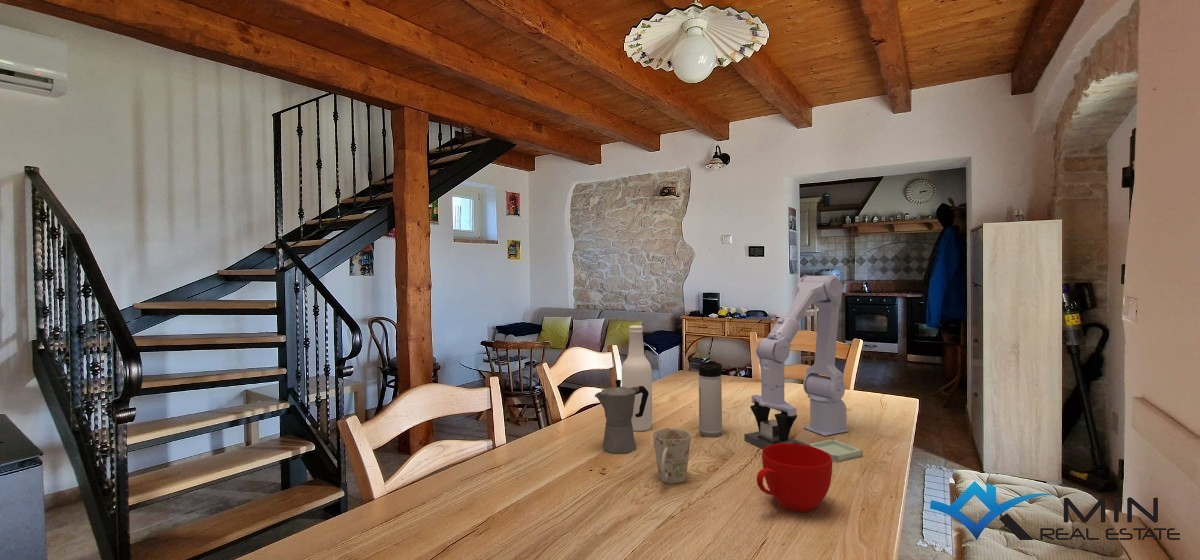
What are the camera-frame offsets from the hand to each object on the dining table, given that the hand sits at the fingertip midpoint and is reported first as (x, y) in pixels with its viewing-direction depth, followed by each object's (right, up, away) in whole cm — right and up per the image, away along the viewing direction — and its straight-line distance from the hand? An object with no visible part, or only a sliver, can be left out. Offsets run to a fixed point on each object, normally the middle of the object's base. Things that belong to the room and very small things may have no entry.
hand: (773, 436), depth 135 cm
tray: (+13, -2, -6) cm, 15 cm away
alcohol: (-34, -3, +17) cm, 38 cm away
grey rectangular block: (0, -3, 0) cm, 2 cm away
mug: (-30, -4, -21) cm, 37 cm away
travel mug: (-14, -3, +10) cm, 18 cm away
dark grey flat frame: (+2, -3, -4) cm, 5 cm away
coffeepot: (-39, -3, +1) cm, 39 cm away
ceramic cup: (-8, -4, -34) cm, 35 cm away
